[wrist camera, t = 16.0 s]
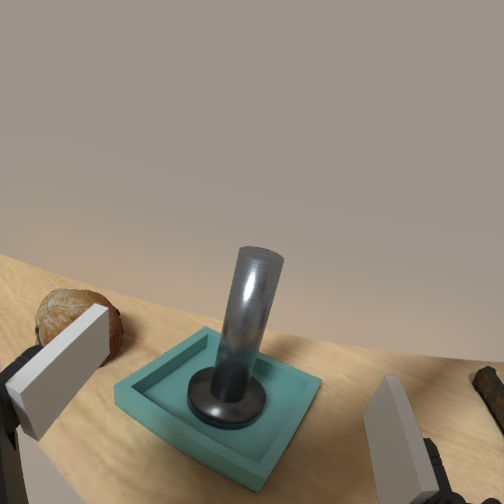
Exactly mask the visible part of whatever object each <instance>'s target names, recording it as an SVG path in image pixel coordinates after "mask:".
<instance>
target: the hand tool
mask: <svg viewBox="0 0 504 504" xmlns="http://www.w3.org/2000/svg"><path fill="white" fill-rule="evenodd" d="M472 384H473V386H474V387H477V392H480V393H481V394H482V396H483V397H484V399H485V400H486V402H487V403H488V405H489V407H490V409H491V410H492V412H493V414H494V415H495V417H496V419H497V421H498V422H499V424H500V426H501V427H502V429H503V431H504V385H503V383H502V382H501V380H500V379H499V378H498V376H497V375H496V370H495V369H494V368H492V367H490V366H487V367H485V368H482V369H480V370H479V371H478V372H477V373H476V376H475V378H474V380H473V383H472Z"/></svg>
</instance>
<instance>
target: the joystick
mask: <svg viewBox="0 0 504 504" xmlns="http://www.w3.org/2000/svg"><path fill="white" fill-rule="evenodd" d="M283 263H284V258H283V257H282V256H281V255H279V254H277V253H275V252H273V251H270V250H268V249H264V248H260V247H252V246H246V247H242V248H240V250H239V254H238V259H237V263H236V268H235V272H234V277H233V281H232V286H231V290H230V295H229V300H228V304H227V309H226V313H225V318H224V323H223V327H222V332H221V337H220V341H219V346H218V351H217V356H216V360H215V365H214V366H212V367H207V368H204V369H201V370H199V371H197V372H196V373H195V374H194V375H193V376H192V377H191V379H190V381H189V384H188V391H187V404H188V407H189V409H190V411H191V412H192V413H193V415H194V416H195V417H196V418H198V419H199V420H200V421H202V422H203V423H205V424H207V425H209V426H211V427H214V428H217V429H222V430H240V429H244V428H247V427H249V426H251V425H253V424H254V423H255V422H256V421H257V420H258V419H259V418H260V416H261V413H262V410H263V408H264V405H265V402H266V393H265V390H264V388H263V386H262V385H261V384H260V382H259V381H258V380H257V379H255V378H254V377H253V376H251V375H252V371H253V368H254V365H255V361H256V358H257V355H258V351H259V348H260V344H261V341H262V337H263V334H264V331H265V327H266V323H267V320H268V316H269V313H270V309H271V306H272V302H273V299H274V295H275V291H276V288H277V284H278V281H279V277H280V273H281V270H282V266H283Z"/></svg>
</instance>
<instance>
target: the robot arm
mask: <svg viewBox="0 0 504 504" xmlns="http://www.w3.org/2000/svg"><path fill="white" fill-rule="evenodd" d="M109 354H110V349H109V308H107V307H104V306H102V305H99V304H96V303H95V304H94V305H93V306H91V307H90V308H89V309H88V310H87V311H85V312H84V313H83V314H82V315H81V316H80V317H78V318H77V319H76V320H75V321H74V322H73V323H71V324H70V325H69V326H68V327H67V328H66V329H65V330H63V331H62V332H61V333H60V334H59V335H58V336H57V337H55V338H54V339H53V340H52V341H51V342H50V343H49V344H48V345H46V346H45V347H43V346H41V345H39V344H38V345H35V346H33V347H30V348H28V349H27V350H26V351H25V352H23V353H22V354H21V356H19V357H18V358H17V359H15V361H13V362H12V363H11V364H10V365H9V366H8V367H6V368H5V369H4V370H3V371H2V372H1V373H0V504H29V503H28V498H27V494H26V489H25V484H24V478H23V472H22V467H21V459H20V452H19V444H18V434H17V431H16V428H17V427H18V426H19V424H20V425H21V427H22V429H23V431H24V433H25V434H27V435H29V436H30V437H32V438H33V439H35V440H36V441H38V442H39V440H40V439H41V438H42V437H43V435H44V434H45V433H46V431H47V430H48V429H49V428H50V426H51V425H52V424H53V423H54V421H55V420H56V419H57V417H58V416H59V415H60V414H61V412H62V411H63V410H64V409H65V407H66V406H67V405H68V404H69V402H70V401H71V400H72V399H73V398H74V396H75V395H76V394H77V393H78V391H79V390H80V389H81V388H82V386H83V385H84V384H85V383H86V382H87V380H88V379H89V378H90V377H91V376H92V374H93V373H94V372H95V371H96V370H97V368H98V367H99V366H100V365H101V364H102V362H103V361H104V360H105V359H106V358H107V356H108V355H109ZM363 419H364V424H365V429H366V434H367V440H368V445H369V450H370V456H371V461H372V467H373V473H374V479H375V485H376V491H377V497H378V504H471V503H466V501H465V500H464V498H463V497H462V496H461V495H459V494H458V493H455V492H452V490H451V487H450V484H449V481H448V478H447V475H446V472H445V469H444V466H443V465H442V460H441V458H440V455H439V452H438V449H437V447H436V445H435V444H434V443H433V442H432V441H431V439H430V438H422V435H421V432H420V430H419V427H418V424H417V421H416V419H415V416H414V413H413V411H412V408H411V405H410V403H409V400H408V397H407V395H406V392H405V390H404V387H403V385H402V382H401V380H400V377H399V376H391V375H385V377H384V378H383V380H382V382H381V384H380V386H379V388H378V389H377V391H376V393H375V395H374V397H373V398H372V400H371V402H370V403H369V405H368V407H367V409H366V410H365V412H364V414H363ZM481 504H501V502H500V501H499V500H497V499H495V498H488V499H486V500H485V501H484V502H482V503H481Z"/></svg>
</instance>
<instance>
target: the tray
mask: <svg viewBox="0 0 504 504" xmlns="http://www.w3.org/2000/svg"><path fill="white" fill-rule="evenodd" d="M220 337H221V334H220V333H218V332H216V331H214V330H212V329H210V328H208V327H206V326H205V327H204V328H202V329H201V330H199V331H198V332H196V333H195V334H193V335H192V336H190V337H189V338H187V339H186V340H184V341H183V342H181V343H180V344H178V345H177V346H175V347H174V348H172V349H170V350H169V351H167V352H166V353H164V354H163V355H161V356H160V357H158V358H157V359H155V360H153V361H152V362H150V363H149V364H147V365H146V366H144V367H143V368H141V369H139V370H138V371H136V372H135V373H133V374H131V375H130V376H128V377H127V378H125V379H124V380H122V381H120V382H119V383H117V384H116V385H114V395H115V405H117V406H118V407H119V408H120V409H122V410H123V411H124V412H126V413H127V414H128V415H130V416H131V417H132V418H133V419H135V420H136V421H138V422H139V423H140V424H142V425H143V426H144V427H146V428H147V429H149V430H150V431H151V432H153V433H154V434H156V435H157V436H159V437H160V438H162V439H163V440H164V441H166V442H167V443H169V444H170V445H172V446H174V447H175V448H177V449H178V450H180V451H181V452H183V453H185V454H186V455H188V456H189V457H191V458H193V459H194V460H196V461H198V462H199V463H201V464H203V465H204V466H206V467H208V468H210V469H211V470H213V471H215V472H217V473H219V474H220V475H222V476H224V477H226V478H228V479H230V480H232V481H234V482H236V483H237V484H239V485H241V486H243V487H245V488H247V489H250V490H252V491H254V492H256V493H259V491H260V490H261V488H262V487H263V485H264V483H265V482H266V480H267V479H268V477H269V476H270V474H271V472H272V471H273V469H274V468H275V466H276V464H277V463H278V461H279V459H280V458H281V456H282V454H283V453H284V451H285V449H286V448H287V446H288V444H289V442H290V441H291V439H292V437H293V435H294V434H295V432H296V430H297V428H298V426H299V425H300V423H301V421H302V419H303V417H304V415H305V414H306V412H307V410H308V408H309V406H310V404H311V402H312V400H313V398H314V397H315V394H316V392H317V390H318V388H319V386H320V384H321V382H322V379H320V378H317V377H315V376H312V375H310V374H308V373H305V372H303V371H301V370H298V369H296V368H294V367H291V366H289V365H287V364H284V363H282V362H280V361H278V360H275V359H273V358H271V357H269V356H267V355H264V354H262V353H260V352H258V355H257V358H256V361H255V365H254V368H253V371H252V375H251V376H253V377H254V378H255V379H257V380H258V381H259V382H260V384H261V385H262V386H263V388H264V390H265V393H266V402H265V405H264V408H263V410H262V413H261V416H260V418H259V419H258V420H257V421H256V422H255V423H254V424H253V425H251V426H249V427H247V428H244V429H240V430H222V429H217V428H214V427H211V426H209V425H207V424H205V423H203V422H202V421H200V420H199V419H198V418H196V417H195V416H194V415H193V413H192V412H191V411H190V409H189V407H188V404H187V391H188V384H189V381H190V379H191V377H192V376H193V375H194V374H195V373H196V372H197V371H199V370H201V369H204V368H207V367H212V366H214V365H215V360H216V356H217V351H218V346H219V341H220Z"/></svg>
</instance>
